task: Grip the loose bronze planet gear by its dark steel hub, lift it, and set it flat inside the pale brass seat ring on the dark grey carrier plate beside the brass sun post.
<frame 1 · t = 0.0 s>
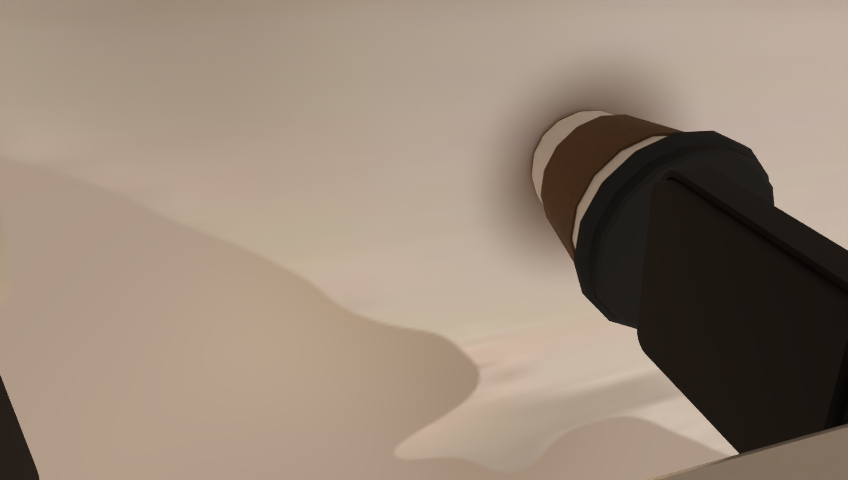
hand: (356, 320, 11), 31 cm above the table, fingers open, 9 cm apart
coffee cup: (575, 157, 48), on the table
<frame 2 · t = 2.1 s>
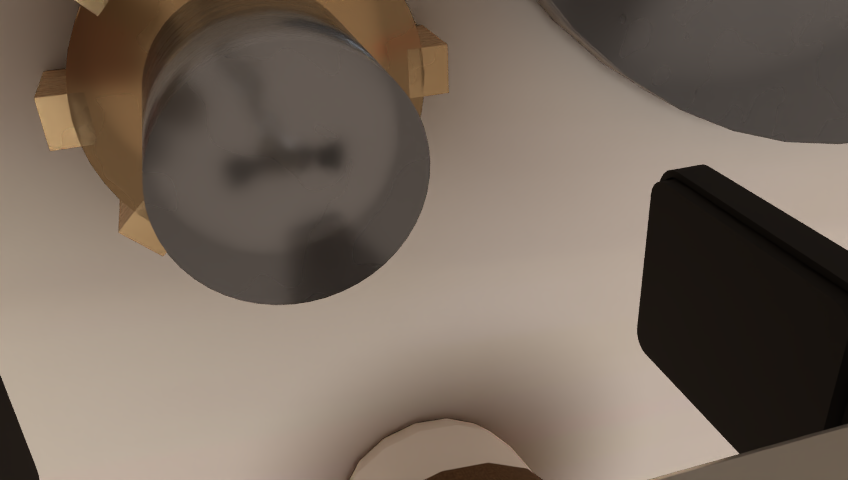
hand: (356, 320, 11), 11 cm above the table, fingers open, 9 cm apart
planet gear: (247, 70, 19), on the table
coffee cup: (423, 479, 29), on the table
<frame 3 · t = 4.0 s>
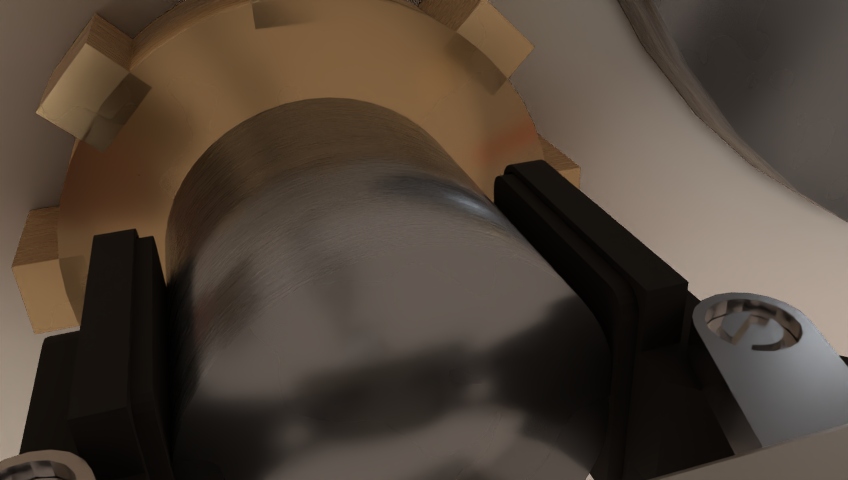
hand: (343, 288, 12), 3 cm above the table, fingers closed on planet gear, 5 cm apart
planet gear: (304, 196, 14), on the table, touching gripper
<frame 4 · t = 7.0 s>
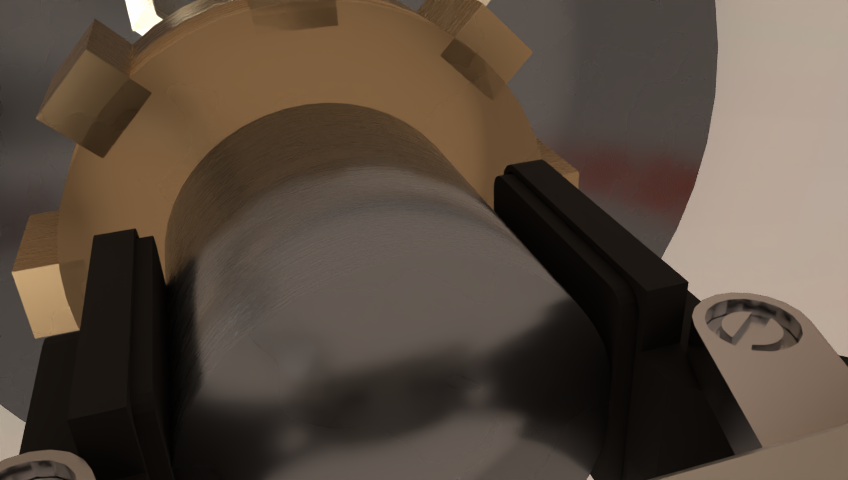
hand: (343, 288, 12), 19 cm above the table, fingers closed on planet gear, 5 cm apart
planet gear: (304, 200, 14), point 16 cm above the table, touching gripper
carrier plate: (337, 149, 31), on the table
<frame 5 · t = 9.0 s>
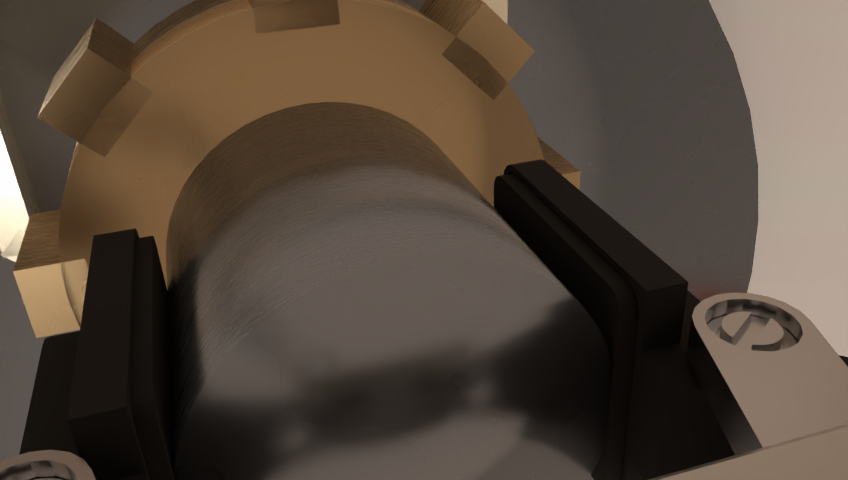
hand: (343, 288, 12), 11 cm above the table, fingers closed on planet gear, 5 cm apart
planet gear: (305, 200, 14), point 8 cm above the table, touching gripper
carrier plate: (289, 349, 25), on the table
when the fingers open (7 cm above the table, at t = 10.5 s): planet gear drops 2 cm, resting on carrier plate.
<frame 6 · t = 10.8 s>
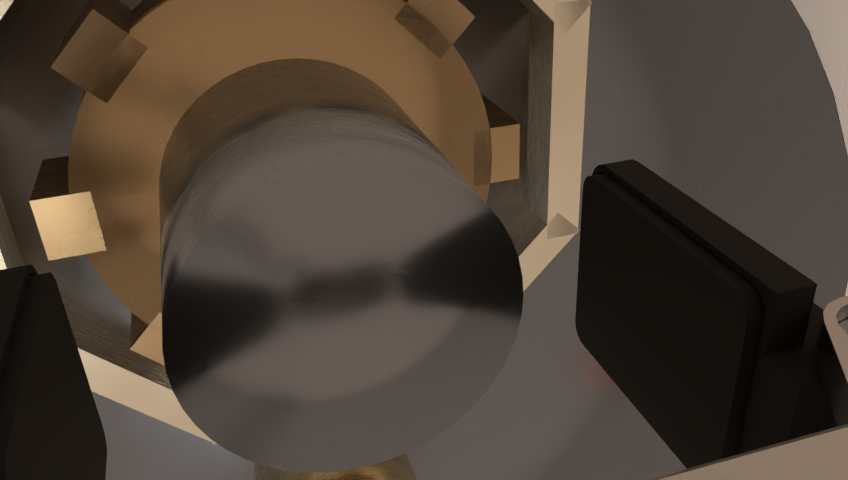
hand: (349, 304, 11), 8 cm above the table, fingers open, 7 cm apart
planet gear: (282, 151, 17), point 1 cm above the table, touching carrier plate
carrier plate: (319, 426, 22), on the table
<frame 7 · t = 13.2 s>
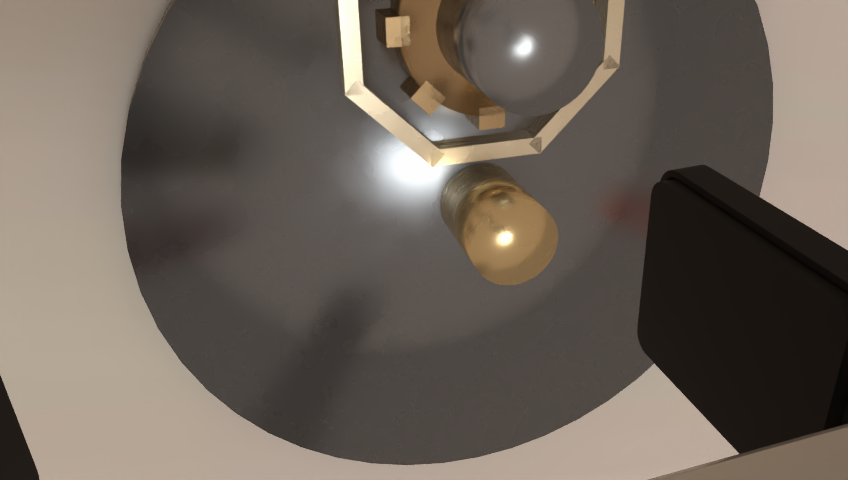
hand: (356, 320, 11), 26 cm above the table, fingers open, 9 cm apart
planet gear: (477, 15, 34), point 1 cm above the table, touching carrier plate
carrier plate: (469, 189, 40), on the table
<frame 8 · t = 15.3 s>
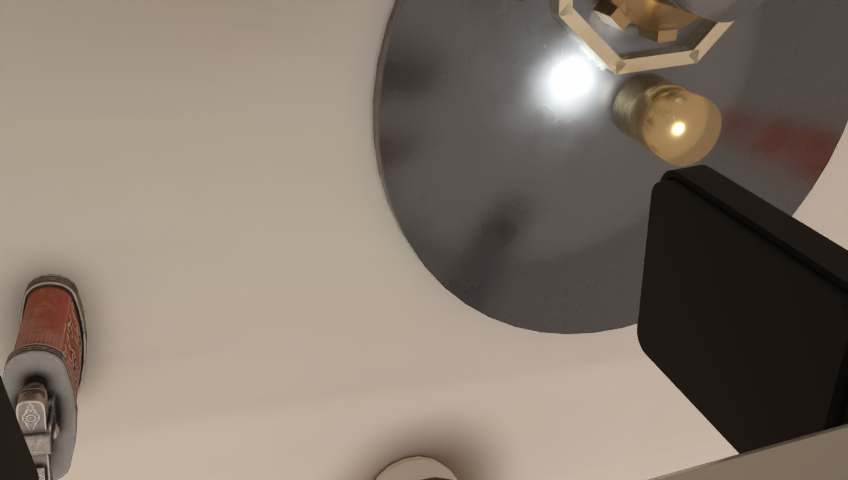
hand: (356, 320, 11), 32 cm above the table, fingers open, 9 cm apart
lighter: (55, 334, 45), on the table
carrier plate: (629, 98, 49), on the table
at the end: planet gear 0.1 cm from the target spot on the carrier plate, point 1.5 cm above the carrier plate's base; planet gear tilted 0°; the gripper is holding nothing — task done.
